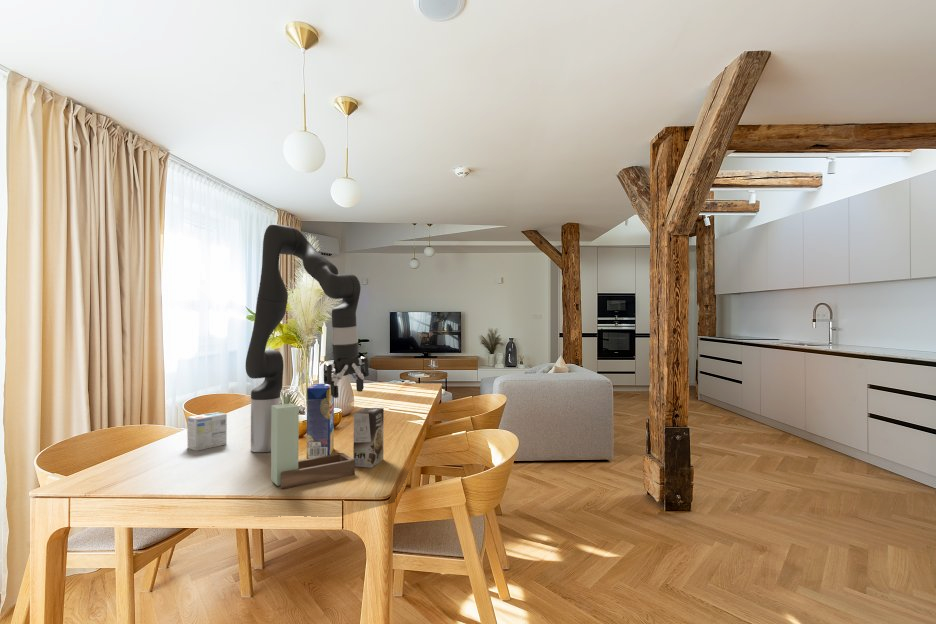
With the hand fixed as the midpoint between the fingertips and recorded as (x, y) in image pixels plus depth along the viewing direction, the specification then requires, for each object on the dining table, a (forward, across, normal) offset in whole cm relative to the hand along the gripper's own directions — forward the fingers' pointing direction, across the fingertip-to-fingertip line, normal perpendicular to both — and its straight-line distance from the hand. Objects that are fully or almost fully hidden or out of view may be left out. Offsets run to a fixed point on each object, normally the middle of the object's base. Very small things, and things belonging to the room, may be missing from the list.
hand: (347, 394), depth 148 cm
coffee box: (+22, -3, +5) cm, 22 cm away
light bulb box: (+22, +23, -52) cm, 61 cm away
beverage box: (+22, +1, -15) cm, 27 cm away
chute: (+19, +15, +4) cm, 25 cm away
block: (+19, +23, +3) cm, 30 cm away
